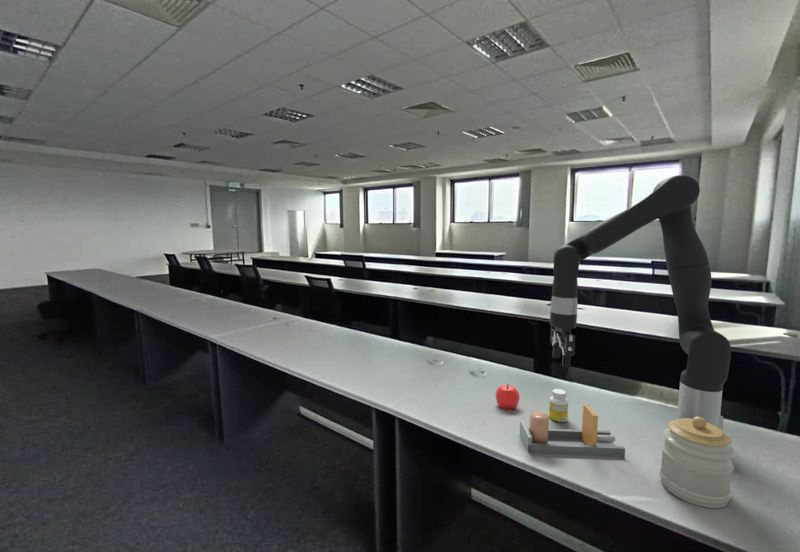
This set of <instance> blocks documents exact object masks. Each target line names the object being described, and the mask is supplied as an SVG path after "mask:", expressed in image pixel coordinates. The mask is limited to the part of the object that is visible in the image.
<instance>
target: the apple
mask: <svg viewBox="0 0 800 552" xmlns="http://www.w3.org/2000/svg"><path fill="white" fill-rule="evenodd" d="M495 400H496V403H497V405H498V407H500V408H501V409H504V410H506V411H509V410H514V409H515V408H517V407H518V406H519V401H520V393H519V392H518V390H517V388H516V387H515V386H512V385H509V383H507V384H504V385H503V384H502V385H501V386H498V387H497V389H496V391H495Z"/></svg>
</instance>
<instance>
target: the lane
mask: <svg viewBox="0 0 800 552" xmlns="http://www.w3.org/2000/svg"><path fill="white" fill-rule="evenodd" d="M519 435H520V436H519V437H520V438H521V441H522V442H523V445H524V448H525V449H526V452H528V453H535V454H536V453H537V454H565V455H588V456H589V455H590V456H591V455H592V456H613V457H614V456H617V457H618V456H619V457H621V458H622V459H623V460H624V459H625V457H626V448H625V446H623V445H622V446H621V445H618V446H616V444H615V442H607V441H597V443H596V446H595V445H586V443H585V442H584V441H583V439H582V429H565V428H564V429H562V428H561V429H560V428H549V432H548V444H540V443H532V436H531V434H530V432H529V427H528V426H527V425H526V422H525V420H519ZM597 435H612V434H611V432H610V431H609V430H597Z"/></svg>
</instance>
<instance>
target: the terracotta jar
mask: <svg viewBox="0 0 800 552" xmlns="http://www.w3.org/2000/svg"><path fill="white" fill-rule="evenodd" d="M549 425H550V418H549V414H546V413H544V412H540V411H533V412H531V413H529V427H528V428H529V432H530V434H531V436H532V443H540V444H548V432H549V429H550V427H549Z"/></svg>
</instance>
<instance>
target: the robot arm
mask: <svg viewBox="0 0 800 552" xmlns="http://www.w3.org/2000/svg"><path fill="white" fill-rule="evenodd" d="M699 184H700V183H698V181H697V180H696V179H695V178H694V177H692V176H690V175H689V176H688V175H684V174H679V175H673V176H670V177H667V178H665V179H663V180H662V181H660V182H658V183H657V184H656V186H655V187H654V188H653V191H652V192H651V193H650V194H649V195H647V196H646V197H644V198H643V199H642V200H640V201H638V202H637V203H636V204H634V205H633V206H630V207H629V208H627V209H625V210H623V211H621V212H619V213H617V214H615V215H613V216H611V217H609V218H607V219H606V220H604V221H602V222H600V223H598V224H597V225H595V226H593V227H591V228H590V229H589V230H587V231H586V232H584V233H582V235H580V236H578V237H576V238H574V239H573V240H570V241H568V242H567V243H566V244H565V243H564V244H563V245H561V246H560V247H558V248H557V249H556V250H555V252H554V254H553V281H552V287H551V289H552V290H551V292H552V293H551V299H550V310H549V313H550V314H549V315H550V316H549V325H550V336H549V338H550V339H549V341H550V343H551V345H552V358H553V359H560V358H561V357H562V359H561V361H562V362H561V366H562V368H570V367H571V364H572V363H571V360H572V356H575V355H576V335H575V334H572V333H571V332H572V331H571V330H572V329H575V328H576V327H577V323H578V306H579V305H578V288H579V287H578V285H579V284H578V278H579V277H578V276H579V271H580V270H579V269H580V263H581V262H582V261H583V260H586V259H587V258H589V257H591V256H592V255H595V254H598V253H600V252H602V251H603V250H606V249H607V248H609V247H612V245H614V244H616V243H618V242H619V241H621V240H623V239H625V238H626V237H628V236H629V235H631V234H633V233H634V232H636V231H637V230H639V229H641V228H643V227H644V226H647V225H648V224H651V223H653V222H654V221H656V220H658V221H659V224H660V227H661V232H662V239H663V240H662V241H663V251H664V257H665V263H666V269H667V273H668V274H667V275H668V279H669V283H670V287H671V292H672V296H673V299H674V303H675V307H676V312H677V322H678V338H679V343H680V347H681V349H682V350H683V351H684V353H686V354H687V362H686V363H687V364H686V368H685V370H682V371H681V373H680V380H679V390H678V393H679V394H678V403H677V413H676V414H677V415H676V416H677V417H676V420H678V419H681V418H690V419H693V418H694V417H702V418H703V419H705V421H706V422H707V423H710V424H712V425H714V426H716V427H718V428H719V429H721V430H722V431H723V430H724V418H725V417H724V416H723V415H721V410H722V409H721V408H722V398H723V389H724V384H725V383H726V381H727V379H728V377H729V371H730V370H729V369H730V365H731V364H730V363H731V355H732V349H731V348H732V346H731V343H730V341H729V339H728V338H727V337H726V336H724V335H723V334H722V333H719V332H717V331H716V330H715V329H714V326H713V323H712V319H711V315H710V311H709V299H710V295H711V291H712V290H711V288H712V281H713V279H712V273H711V272H712V271H711V266H710V261H709V257H708V254H707V251H706V249H705V246H704V244H703V243H702V241H701V239H700V236H699V235H698V233H697V231H696V228H695V226H694V221H693V216H692V215H693V214H692V208H691V207H692V205H693V204H694V203H695V202H696V200H697V199H698V197H699V195H700V192H701V191H700V185H699ZM561 353H562V355H561ZM723 432H724V431H723Z"/></svg>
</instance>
